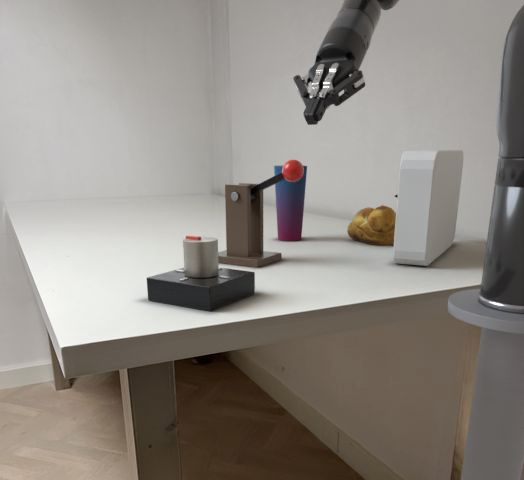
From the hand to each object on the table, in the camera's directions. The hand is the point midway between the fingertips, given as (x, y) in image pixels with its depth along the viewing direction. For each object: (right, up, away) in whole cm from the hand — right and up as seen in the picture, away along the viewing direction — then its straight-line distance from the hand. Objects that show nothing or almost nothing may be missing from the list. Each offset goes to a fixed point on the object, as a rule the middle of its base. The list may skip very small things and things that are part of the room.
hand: (310, 120), depth 88 cm
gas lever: (-6, -11, +1) cm, 13 cm away
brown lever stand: (-11, -21, +8) cm, 25 cm away
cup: (-2, -13, +30) cm, 33 cm away
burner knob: (-16, -27, -17) cm, 35 cm away
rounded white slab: (+23, -19, +14) cm, 33 cm away
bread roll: (+16, -14, +27) cm, 34 cm away
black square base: (-16, -30, -16) cm, 37 cm away
